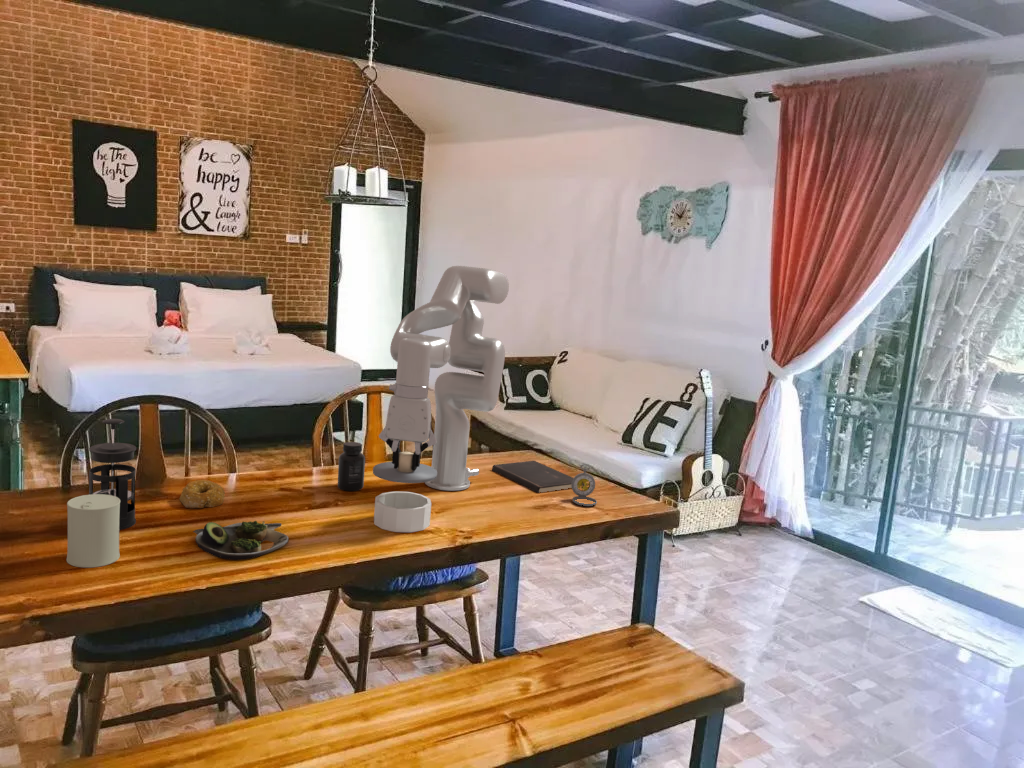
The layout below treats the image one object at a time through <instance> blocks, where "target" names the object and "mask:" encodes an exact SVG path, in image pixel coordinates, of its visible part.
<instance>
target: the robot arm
mask: <svg viewBox="0 0 1024 768" xmlns="http://www.w3.org/2000/svg"><path fill="white" fill-rule="evenodd" d="M509 285H510V283H509V280H508V278H507V275H506V273H504V272H500V271H498V270H497V271H496V270H494V269H490V268H484V267H476V266H466V265H452V266H450V267H448V268H446V269H445V271H444V272H443V274H442V276H441V278H440V280H439V282H438V284H437V285H436V289H435V291H434V292H433V295H432V297H431V299H430V300H429V302H427V303H425V304H423V305H421V306H418V307H417V308H415V309H414V310H412V311H411V312H409V313H407V315H405V316H404V317H403V318H402V319H401V321H400V323H399V324H398V326H397V328H396V330H395V332H394V334H393V336H392V339H391V341H390V346H389V347H390V348H389V353H390V356H391V358H392V360H394V361H395V362H396V363H397V364H396V365H397V366H396V377H395V379H396V380H395V383H394V384H389V386H388V387H389V391H392V392H393V395H391V397H390V400H389V404H388V408H387V414H386V421H385V427H384V428H383V429H382V431H380V433H379V434H378V438H379V439H381V440H382V441H384V442H385V443H386V445H388V447H389V448H390V449H391V451H392V459H391V460H392V461H391V462H392V464H394V468H395V469H396V468H398V459H399V453H400V452H402V450H401V448H400V444H401V442H402V441H403V442H412V443H414V452H413V453H414V454H413V459H412V471H415V470H416V468H417V467H419V465H420V464H421V454H422V452H424V451H425V450H426V449H428V448H430V447H432V457H431V467H432V468H434V469H436V471H437V477H436V478H435V479H434V480H431V481H428V482H424V484H425V485H426V486H427V487H430V488H432V489H434V490H435V489H436V490H440V491H449V492H451V491H452V492H454V491H463V490H466V489H468V488H469V487H471V481H470V480H469V478H471V477H475V476H479V475H480V470H479V469H478V468H472V469H470V468H469V467H467V462H468V461H467V459H468V458H467V457H468V449H469V437H470V420H469V418H468V415H467V414H466V412H465V410H470V411H477V412H484V413H485V412H486V413H487V412H491V411H493V410H494V409H495V408H496V406H497V404H498V399H499V394H500V388H501V383H502V382H501V381H502V378H503V371H504V366H505V358H506V349H505V345H504V344H503V342H502V341H501V340H499V339H497V338H495V337H494V338H493V337H488V336H482V335H483V328H484V324H485V320H484V318H485V317H484V316H483V314H482V312H481V310H480V308H479V307H478V305H477V303H475V302H478V303H480V302H481V303H488V304H497V305H500V304H501V303H504V301H505V300H506V298H507V297H508V295H509V287H510V286H509ZM449 326H451V329H450V331H451V332H450V335H449V341H447V339H445V338H443V337H440V336H435V335H428V334H422V333H424V332H427V331H431V330H436V329H441V328H446V327H449ZM446 364H449V365H450V366H451V367H453V368H457V369H462V370H466V371H467V370H469V371H476V372H482V373H483V375H477V374H470V373H465V372H464V373H463V372H458V371H457V372H456V371H455V372H454V371H446V372H443V373H441V374H439V375H438V376H437V377H436V379H435V382H434V400H435V423H434V432H433V430H432V405H431V404H432V403H431V399H430V398H429V397H428V395H429V384H430V383H429V382H430V372H431V369H440V368H442V367H444V366H445V365H446Z"/></svg>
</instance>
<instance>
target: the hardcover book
mask: <svg viewBox="0 0 1024 768" xmlns="http://www.w3.org/2000/svg"><path fill="white" fill-rule="evenodd" d="M491 470H492V471H493V472H495V473H496V474H498V475H501V476H502V477H504V478H507V479H509V480H511V481H513V482H515V483H517V484H518V485H521V486H523V487H525V488H527V489H529V490H531V491H533V492H535V493H537V494H540V492H541V493H547V491H549V492H556V491H555V490H557V491H562V490H561V489H564V490H569V489H568V488H572V487H571V484H572V480H573V478H574V476H570V475H568V474H566V473H564V472H561V471H559V470H556V469H554V468H552V467H551V466H547V465H545V464H543V463H540V462H538V461H536V460H528V461H518V462H516V461H515V462H509V463H499V464H493V465H492V468H491ZM578 487H579V486H578Z"/></svg>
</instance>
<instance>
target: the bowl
mask: <svg viewBox="0 0 1024 768" xmlns="http://www.w3.org/2000/svg"><path fill="white" fill-rule="evenodd" d="M373 511H374V514H373V522H374V523H373V524H374V525H375V526H377V527H378V528H380V529H382V530H385V531H389V532H392V533H393V532H394V533H415V532H419V531H424V530H426V529H427V528H428V527H430V526H431V515H432V514H431V513H432V501H431V498H429V497H427V496H425V495H424V494H421V493H416V492H412V491H388V492H382V493H380V494H379V495H377V496H375V500H374V510H373Z"/></svg>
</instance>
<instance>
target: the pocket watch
mask: <svg viewBox="0 0 1024 768" xmlns="http://www.w3.org/2000/svg"><path fill="white" fill-rule="evenodd" d="M583 466H587V467H584V468H582V467H583ZM590 467H591V466H590V465H589V464H586V463H585V464H581V465H580V469H581V470H582V471H583V472H580V473H577V474H576V475H575V476H573V480H572V484H571V487H572V489H571V490H572V491H573V493H574V494H575V495H576V496H574V497H572V502H573V503H574V504H575V505H579V506H582V505H583V506H584V507H593V505H594V506H596V505H597V503H598V501H597V500H596V498H593V497H590V496H589V495H591V494H592V493H593V492H594V491H595V488H596V481H595V478H594V477H593V476H592V475H591V474H589V473H587V471H588V470H590ZM578 486H579V487H578ZM577 499H587V500H590V501H593V502H595V503H593V504H584V503H579V502H577V501H575V500H577Z"/></svg>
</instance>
